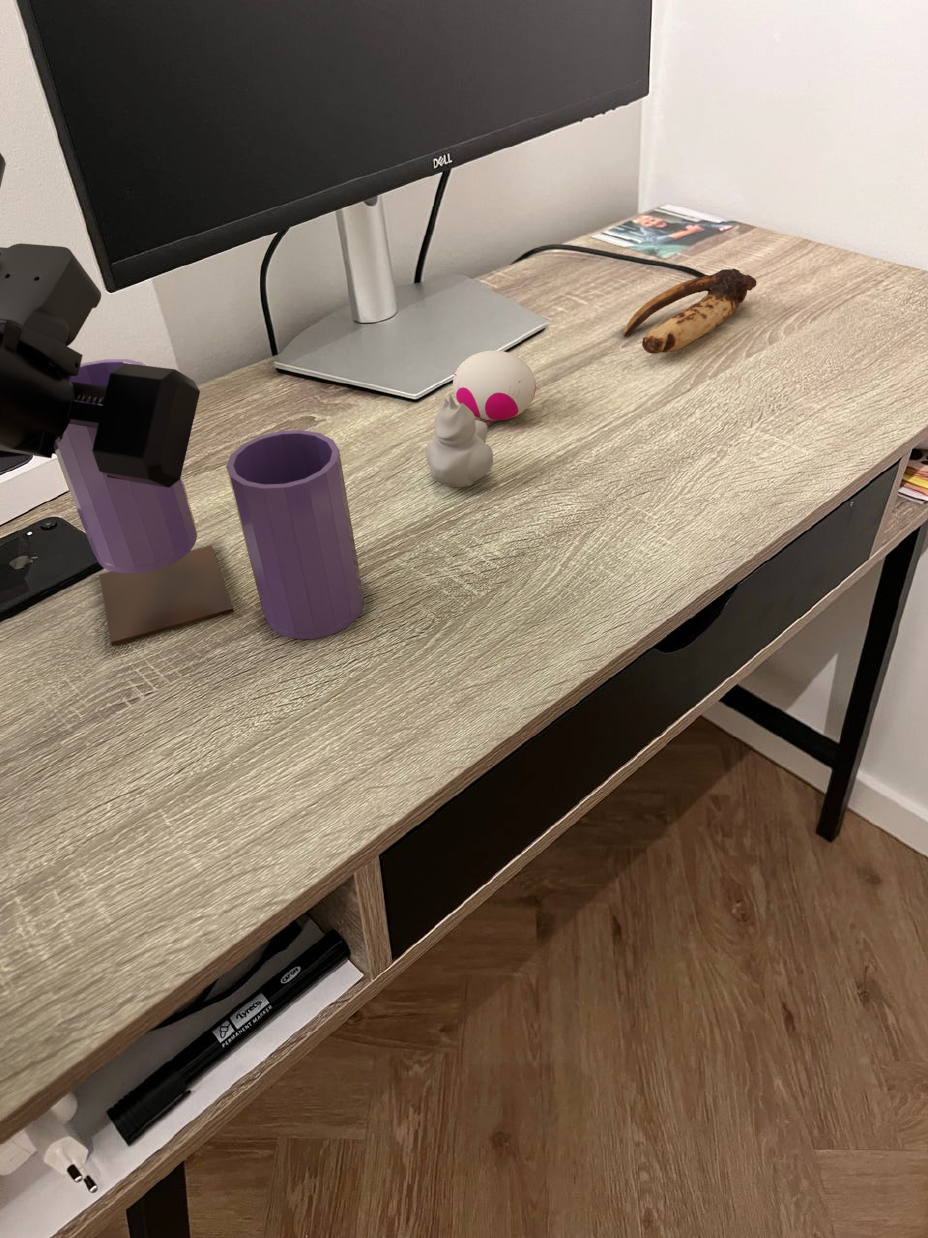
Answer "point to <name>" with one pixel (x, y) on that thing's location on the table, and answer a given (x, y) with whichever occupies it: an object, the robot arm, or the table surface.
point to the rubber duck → (458, 446)
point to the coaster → (164, 597)
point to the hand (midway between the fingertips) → (132, 449)
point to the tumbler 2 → (298, 532)
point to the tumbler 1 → (123, 500)
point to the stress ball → (494, 385)
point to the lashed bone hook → (692, 309)
